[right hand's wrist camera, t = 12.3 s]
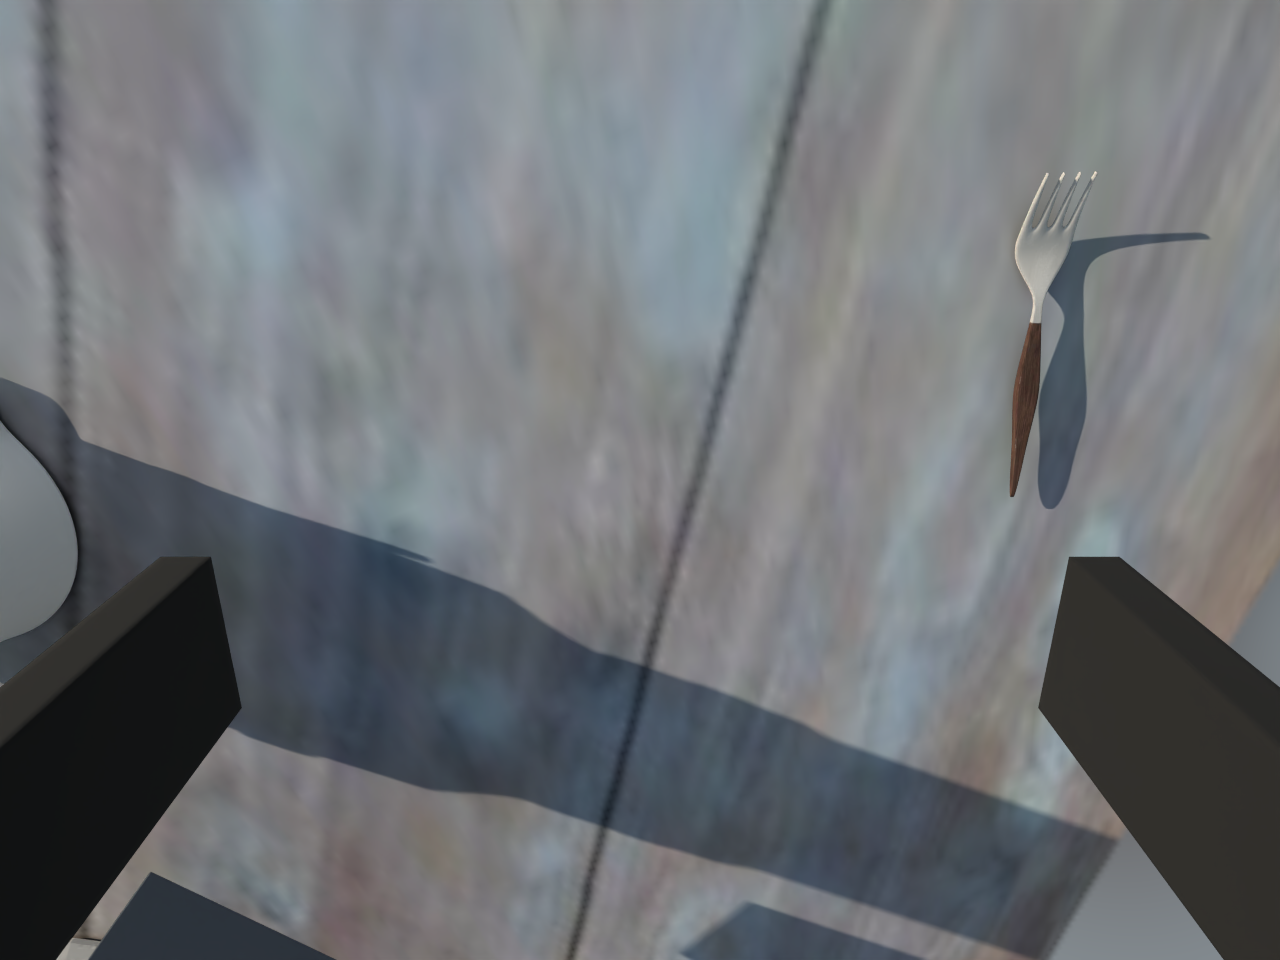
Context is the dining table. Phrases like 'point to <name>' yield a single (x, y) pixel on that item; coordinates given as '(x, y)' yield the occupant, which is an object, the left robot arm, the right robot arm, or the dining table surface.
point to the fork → (1038, 305)
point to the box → (191, 930)
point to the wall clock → (78, 949)
